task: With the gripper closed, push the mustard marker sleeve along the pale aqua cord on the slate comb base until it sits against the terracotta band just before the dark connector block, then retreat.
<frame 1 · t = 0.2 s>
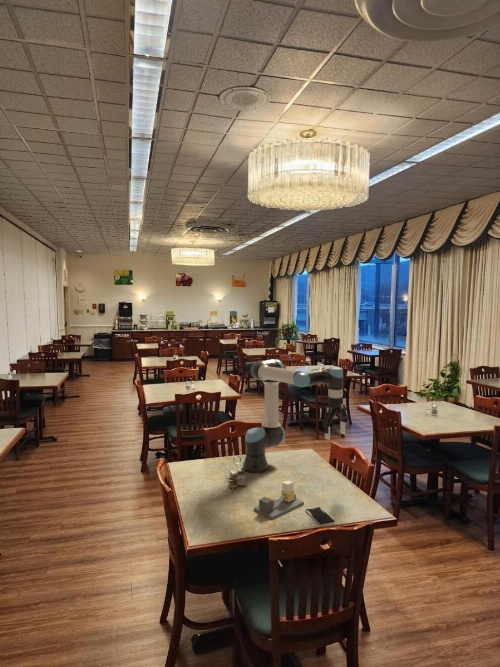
hand: (335, 436, 218), 28 cm above the table, fingers open, 13 cm apart
sleeve: (287, 503, 202), resting on comb base, slide at 0.0 cm
comb base: (279, 507, 198), on the table
smartphone: (319, 518, 188), on the table
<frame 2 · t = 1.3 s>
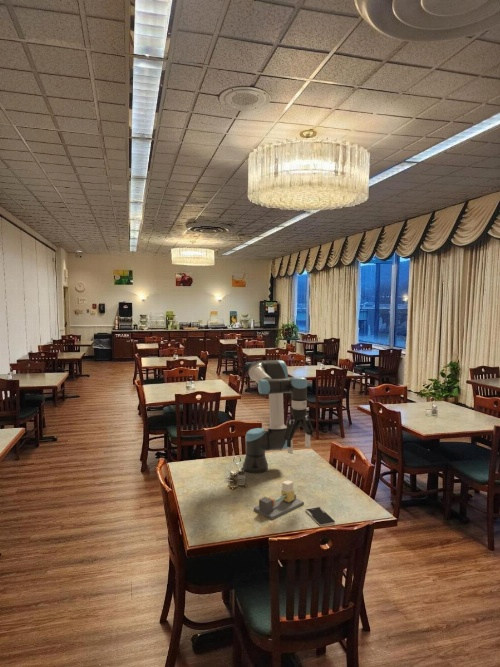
hand: (299, 450, 206), 25 cm above the table, fingers open, 13 cm apart
nothing on the table moved.
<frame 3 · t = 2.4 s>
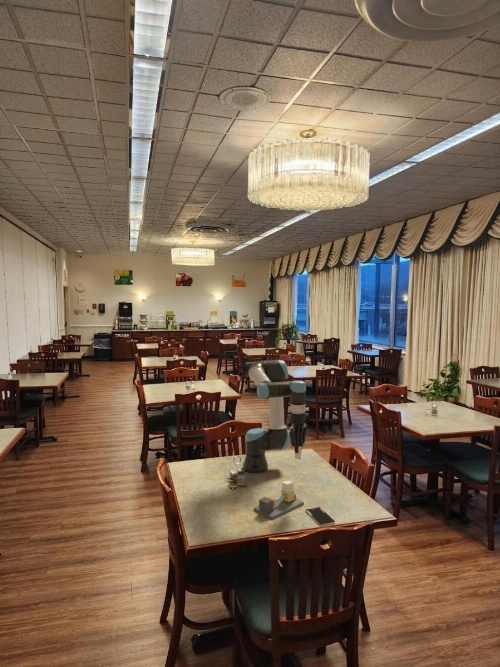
hand: (298, 458, 206), 20 cm above the table, fingers closed
nothing on the table moved.
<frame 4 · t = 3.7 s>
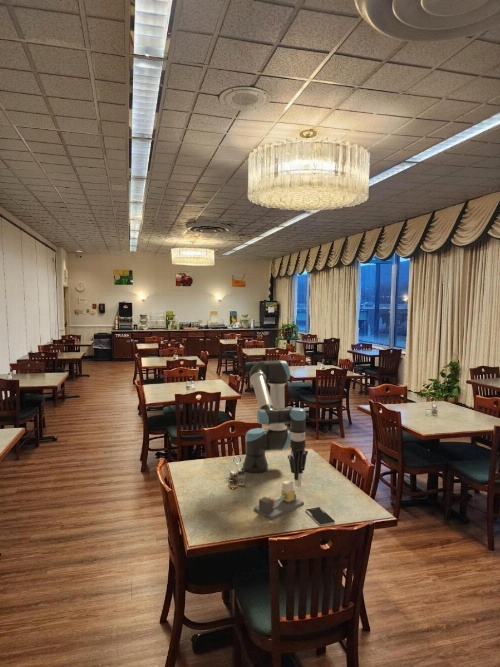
hand: (297, 485, 206), 7 cm above the table, fingers closed
nothing on the table moved.
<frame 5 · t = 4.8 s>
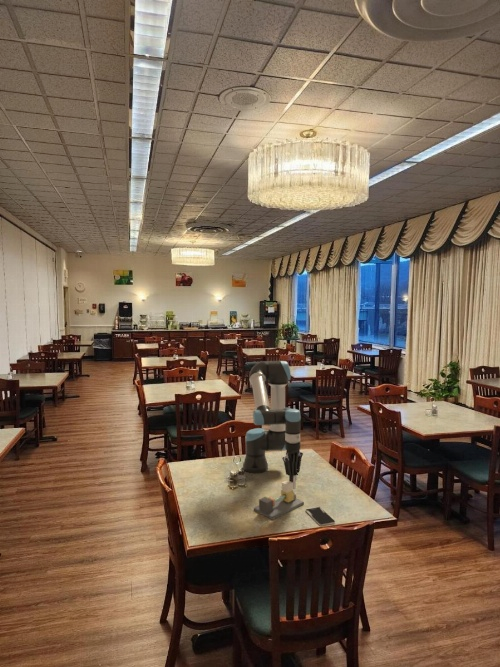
hand: (292, 487, 204), 7 cm above the table, fingers closed
sleeve: (287, 503, 202), resting on comb base, slide at 0.3 cm, touching gripper
everything else where it was.
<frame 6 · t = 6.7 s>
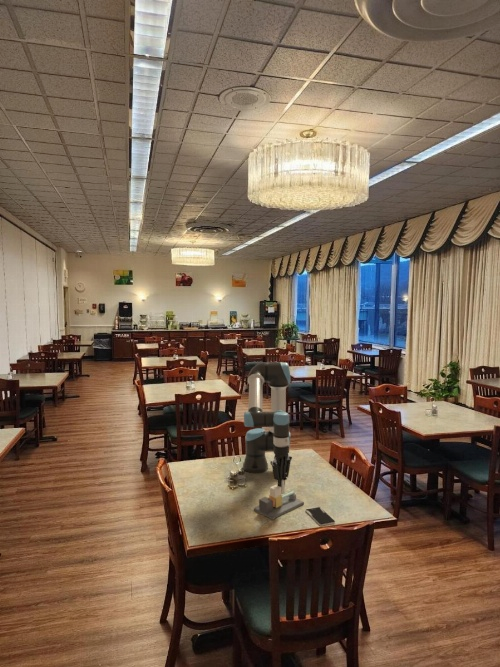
hand: (281, 492, 198), 7 cm above the table, fingers closed
sleeve: (275, 508, 196), resting on comb base, slide at 8.5 cm, touching gripper
everything else where it was.
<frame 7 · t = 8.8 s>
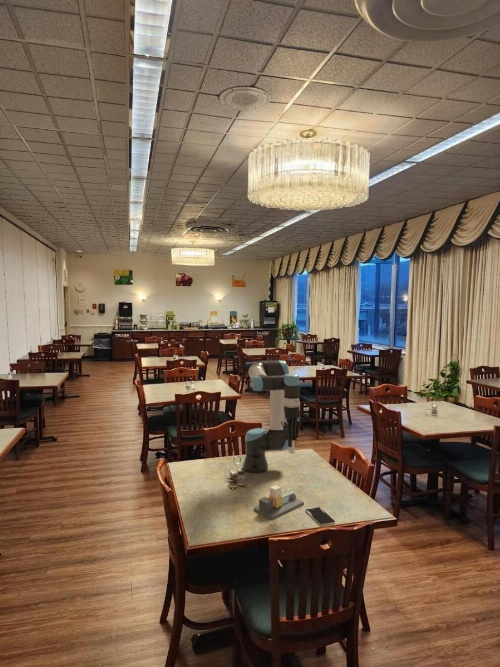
hand: (291, 452, 203), 24 cm above the table, fingers closed
sleeve: (275, 508, 196), resting on comb base, slide at 8.5 cm
everything else where it was.
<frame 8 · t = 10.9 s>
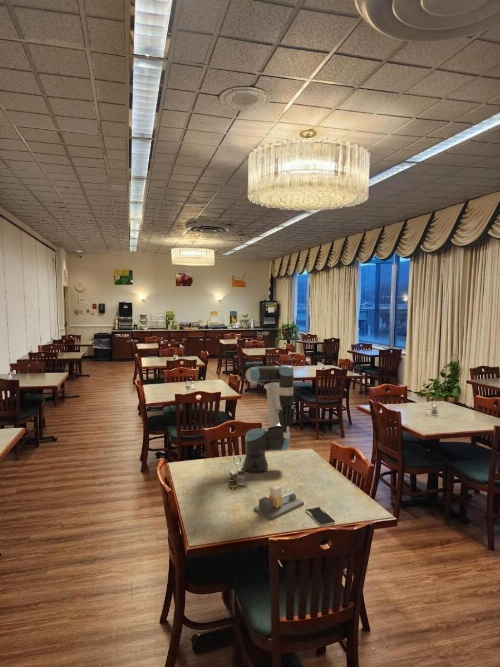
hand: (286, 438, 220), 26 cm above the table, fingers closed
nothing on the table moved.
at the end: sleeve slide at 8.5 cm; the gripper is holding nothing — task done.
